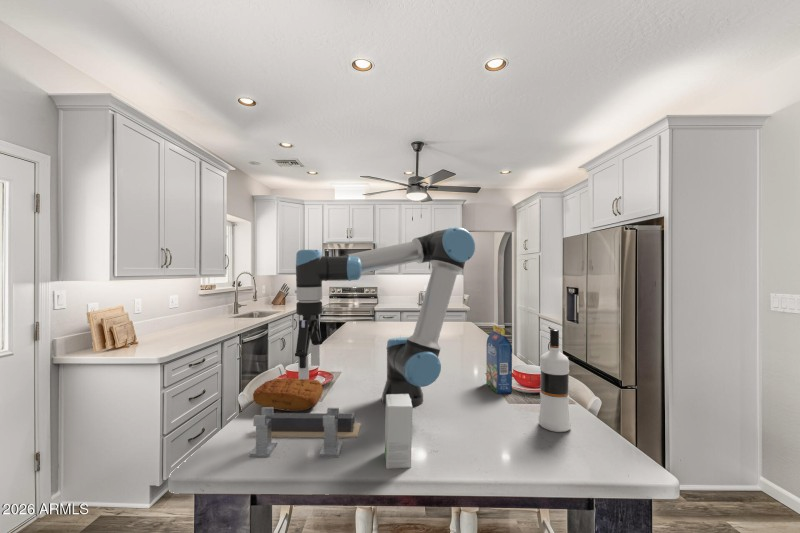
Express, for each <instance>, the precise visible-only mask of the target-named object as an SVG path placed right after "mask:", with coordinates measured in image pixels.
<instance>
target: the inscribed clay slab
mask: <svg viewBox="0 0 800 533" xmlns="http://www.w3.org/2000/svg"><path fill="white" fill-rule="evenodd" d="M323 388H324V387H323V384H322V383H321V382H320V381H319V380H317V379H299V377H298V378H291V377H285V378H283V377H281V378H273V379H271V380H267V381H264V382H263V383H262V384H261V385H259V386H258V387H257V388H256V389H255V390H254V391H253V394H252V396H253V397H252V398H253V403H255V404H256V405H259V406H262V407H274V410H278V411H279V410H280V411H287V412H297V411H305V410H308V409H310V408H313V407H316V406H317V405H318V402H319V400H320V399H321V397H322V395H323V392H324V389H323Z"/></svg>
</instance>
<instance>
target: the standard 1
mask: <svg viewBox="0 0 800 533" xmlns="http://www.w3.org/2000/svg"><path fill="white" fill-rule="evenodd" d="M274 411H275V409H274V407H264V406H262V407H261V414H255V415H253V421H252V422H253V423H252V424H253V427H255V433H256V437H255V447H254V448H253V449H252V450H251V452H250V453H249V458H269V457H271V455H272V454H273V452H274V451H275V449H276V448H277V446H278V442H272V437H271V419H266V418H273V416H274V413H275V412H274Z"/></svg>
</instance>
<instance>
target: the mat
mask: <svg viewBox="0 0 800 533" xmlns="http://www.w3.org/2000/svg"><path fill="white" fill-rule="evenodd" d="M360 429H361V423H355V427H354V430H353V432H338V438H358V436H359V433H360ZM253 437H254V438H256V432H255V433H254V434H253ZM280 437H281V438H324V432H271V438H280Z"/></svg>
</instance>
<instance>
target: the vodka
mask: <svg viewBox="0 0 800 533" xmlns="http://www.w3.org/2000/svg"><path fill="white" fill-rule="evenodd" d="M539 364H540V365H539V366H540V367H539V369H540V391H539V395H540V405H539V406H540V409H539V414H538V419H537V420H538V424H539V425H540V427H542V428H543V429H545V430H547V431H549V432H550V431H551V432H553V433H565V432H567V431H569V430H570V429H571V427H572V421H571V418H570V417H571V416H570V406H569V404H570V395H569V394H570V393H569V391H570V390H569V387H570V385H569V383H570V380H569V379H570V378H569V376H570V375H569V373H570V360H569V358H568V357H567V355H565V354H564V353H562V352H561V351H560V330H558V329H555V328H554V329H553V328H551V329H550V330H549V350H547V351H546V352H545V353H543V354H542V355H541V356H540V359H539Z"/></svg>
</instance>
